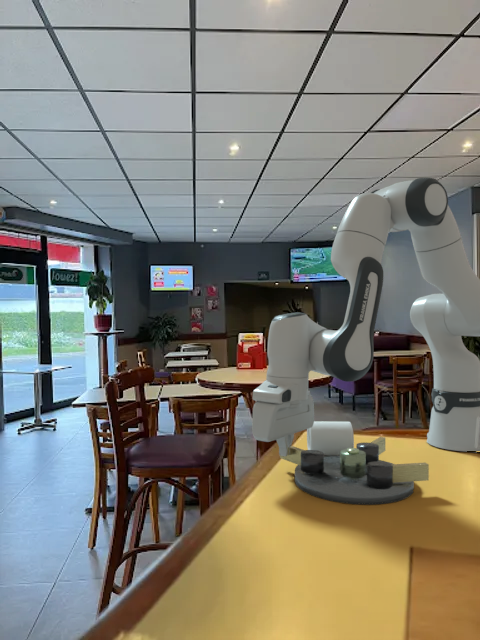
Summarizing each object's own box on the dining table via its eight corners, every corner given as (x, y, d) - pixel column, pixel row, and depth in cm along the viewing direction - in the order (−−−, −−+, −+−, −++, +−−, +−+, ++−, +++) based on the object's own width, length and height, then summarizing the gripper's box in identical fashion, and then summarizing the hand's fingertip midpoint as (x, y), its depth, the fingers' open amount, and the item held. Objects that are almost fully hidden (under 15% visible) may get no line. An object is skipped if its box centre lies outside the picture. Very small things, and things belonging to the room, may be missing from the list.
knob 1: (328, 470, 99) (328, 453, 99) (311, 475, 96) (311, 457, 96) (290, 456, 109) (290, 441, 109) (273, 460, 106) (273, 444, 106)
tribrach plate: (362, 459, 114) (362, 431, 114) (440, 492, 93) (440, 457, 93) (274, 473, 104) (274, 442, 104) (339, 513, 84) (339, 474, 84)
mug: (354, 460, 114) (354, 425, 114) (310, 460, 114) (310, 425, 114) (344, 446, 126) (344, 415, 126) (304, 446, 126) (305, 414, 126)
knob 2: (374, 465, 102) (374, 449, 102) (353, 462, 105) (353, 446, 105) (392, 452, 112) (392, 437, 112) (373, 449, 114) (373, 434, 114)
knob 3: (373, 488, 89) (373, 469, 89) (362, 480, 93) (362, 462, 93) (433, 484, 91) (433, 466, 91) (420, 476, 96) (420, 458, 96)
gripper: (297, 383, 114) (295, 443, 114) (247, 392, 98) (245, 462, 98) (322, 386, 111) (320, 448, 111) (275, 396, 94) (272, 469, 94)
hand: (284, 455), depth 104 cm, fingers closed
